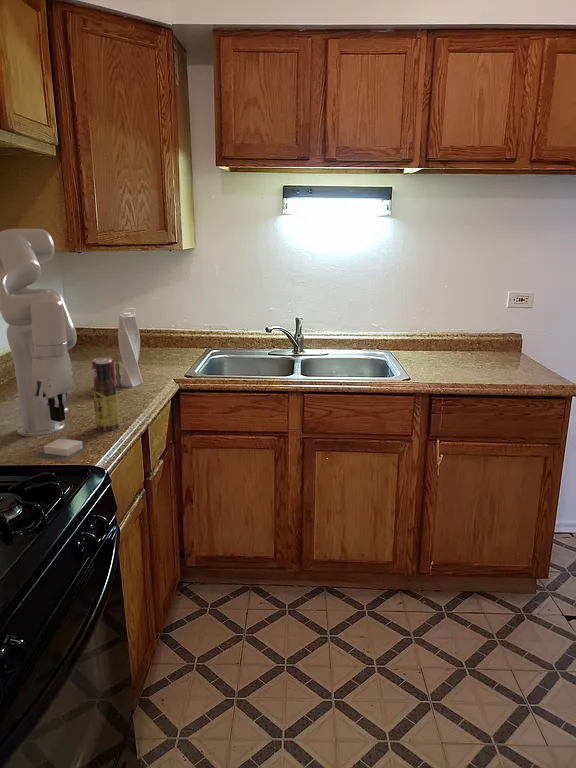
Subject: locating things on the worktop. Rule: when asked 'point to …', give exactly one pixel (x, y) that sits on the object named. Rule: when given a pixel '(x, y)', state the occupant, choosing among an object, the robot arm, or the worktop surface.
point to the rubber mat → (56, 457)
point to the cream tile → (63, 447)
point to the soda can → (112, 370)
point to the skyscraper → (128, 350)
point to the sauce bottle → (105, 398)
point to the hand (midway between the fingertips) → (58, 419)
